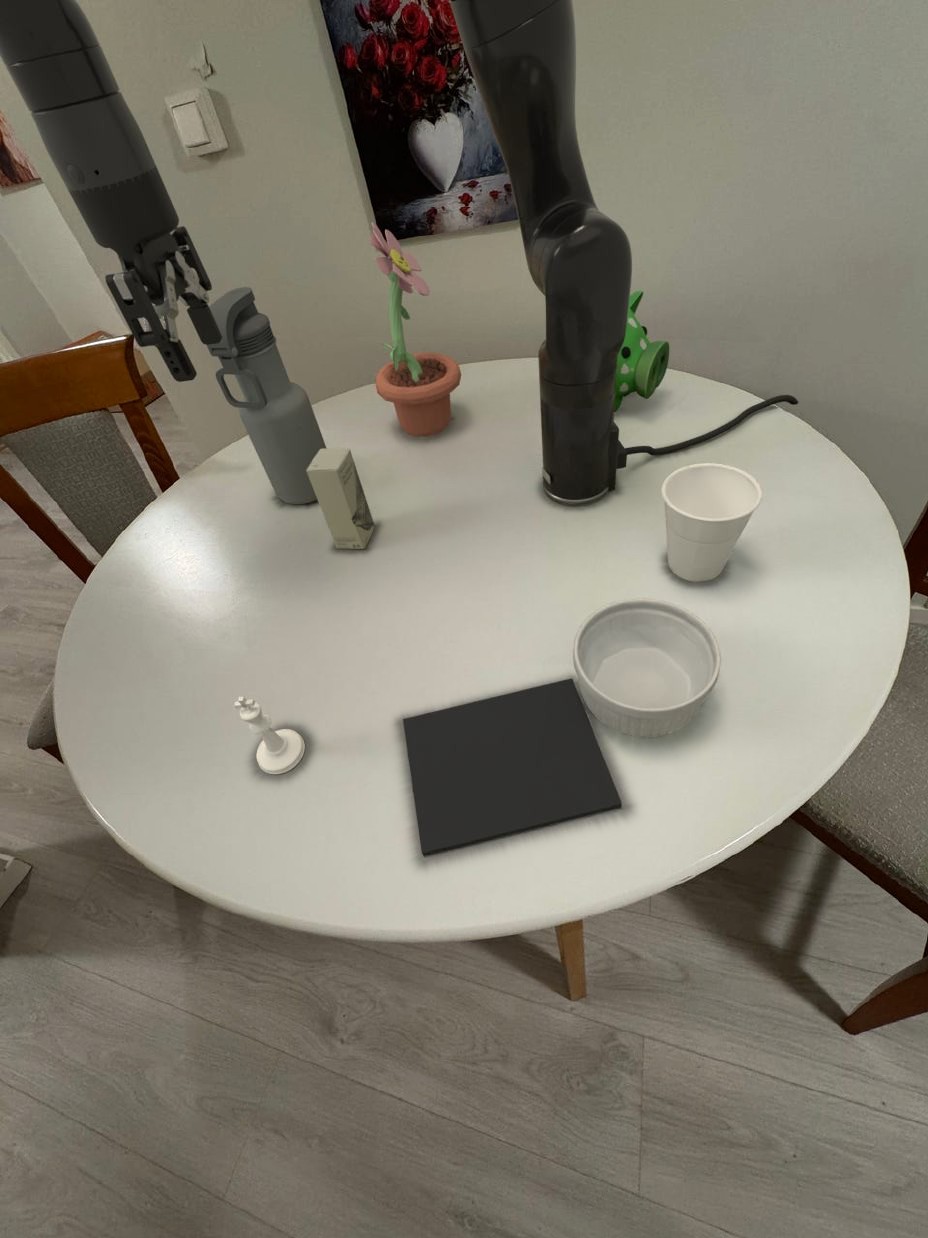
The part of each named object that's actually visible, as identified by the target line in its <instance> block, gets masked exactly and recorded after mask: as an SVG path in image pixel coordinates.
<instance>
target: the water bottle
mask: <svg viewBox="0 0 928 1238" xmlns="http://www.w3.org/2000/svg"><path fill="white" fill-rule="evenodd" d="M255 300H256V297H255V295H254V291H253V290H252V288H251V287H250V286H242V287H236V288H233V289H231V290H229V291H226V292H225V293H224V294H223V295H222V296H220V297H219V298H218V299H216V300H215V301H214V302H212V303H211V304H210V305H209V308H210V310H211V312H212V315H213V317H214V319H215V322H216V324H217V326H218V328H219V331H220V333H221V335H222V340H221V341H220V342H219V343H217V344H210V345H206V347H207V350H208V351H209V354H210V355H211V356H212V357H217V358H218V359H219V361H220V364H221V366H222V367H221V368H219V369H218V370H217V371H216V372H215V379H216V381H217V383H218V385H219V387H220V390H221V391H222V394H223V396H224V398H225V400H226V401H227V403H228V404H229V405H230V406H232V407H234V408H238V413H239V418H240V420H241V422H242V424H243V426H244V428H245V430H246V433H247V435H248V437H249V439H250V441H251V443H252V446H253V448H254V450H255V453H256V454H257V456H258V459H259V461H260V463H261V465H262V467H263V469H264V471H265V474H266V476H267V478H268V480H269V482H270V484H271V487H272V489H273V491H274V493H275V495H276V496H277V498H278V499H279V500H281V501H282V502H284V503H287V504H291V505H304V504H305V505H306V504H309V503H312V502H315V501H318V499H317V497H316V494H315V492H314V489H313V486H312V484H311V481H310V479H309V476H308V474H307V471H306V470H307V468H308V467H309V465H310V464H311V462H312V460H313V458H314V457H315V456H316V454H317V453H318V451H319V450H320V449H328V448H327V445H326V442H325V439H324V437H323V435H322V432H321V429H320V426H319V423H318V420H317V417H316V415H315V412H314V409H313V407H312V404H311V401H310V398H309V395H308V394H307V391H306V390H305V389H304V387H302V386H301V385H300V384H298V383H296V382H293V381H291V380H290V378H289V375H288V373H287V369H286V367H285V364H284V361H283V359H282V357H281V353H280V351H279V348H278V346H277V342H278V341H277V337H276V336H275V335H274V333H273V330H272V327H271V322H270V319H269V317H268V316H267V315H266V314H265V313H261V312H259V311H258V309H257V307H256V304H255ZM225 375H234V377H235V380H236V381H237V383H238V386H239V389H240V391H241V392H242V395H243V397H242V398H241V400H240V401H239V400H238V399H236V398H235V397H234V396H233V395H232V393H231V391H230V389H229V387H228V384H227V382H226V380H225V377H224V376H225Z"/></svg>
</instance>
